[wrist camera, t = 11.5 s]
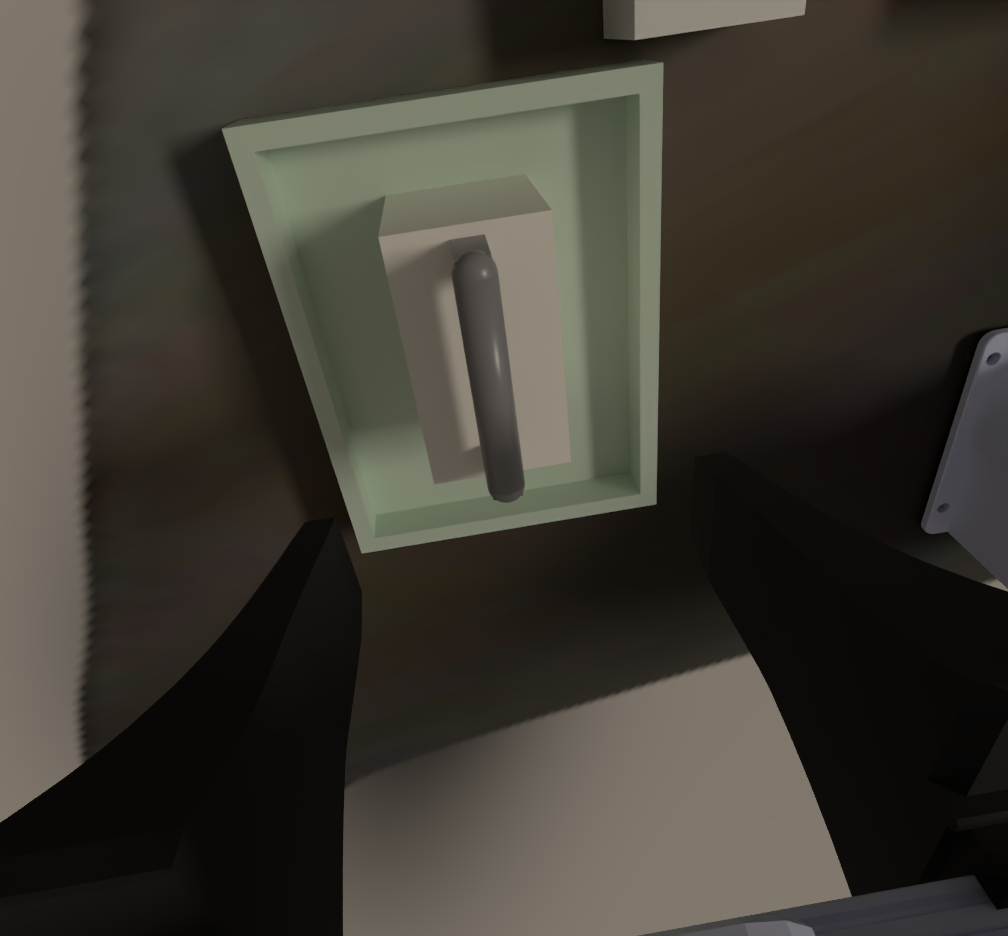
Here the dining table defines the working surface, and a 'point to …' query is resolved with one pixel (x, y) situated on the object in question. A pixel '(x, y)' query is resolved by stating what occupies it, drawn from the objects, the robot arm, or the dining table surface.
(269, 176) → the tray
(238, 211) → the dining table surface
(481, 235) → the block with grey handle
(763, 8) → the bay
